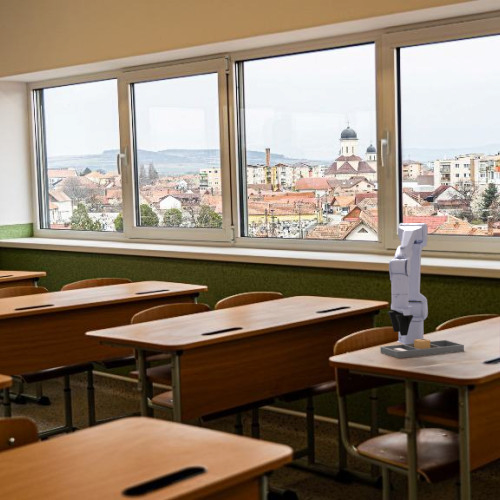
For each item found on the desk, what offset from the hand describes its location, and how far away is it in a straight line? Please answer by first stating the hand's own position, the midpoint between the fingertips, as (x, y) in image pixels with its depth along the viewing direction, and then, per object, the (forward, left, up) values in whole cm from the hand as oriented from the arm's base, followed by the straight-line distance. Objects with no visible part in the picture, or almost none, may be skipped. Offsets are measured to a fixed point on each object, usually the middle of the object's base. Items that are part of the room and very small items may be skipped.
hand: (400, 333), depth 311 cm
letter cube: (0, +9, -7) cm, 11 cm away
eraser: (0, 0, -7) cm, 7 cm away
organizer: (0, +9, -7) cm, 11 cm away
